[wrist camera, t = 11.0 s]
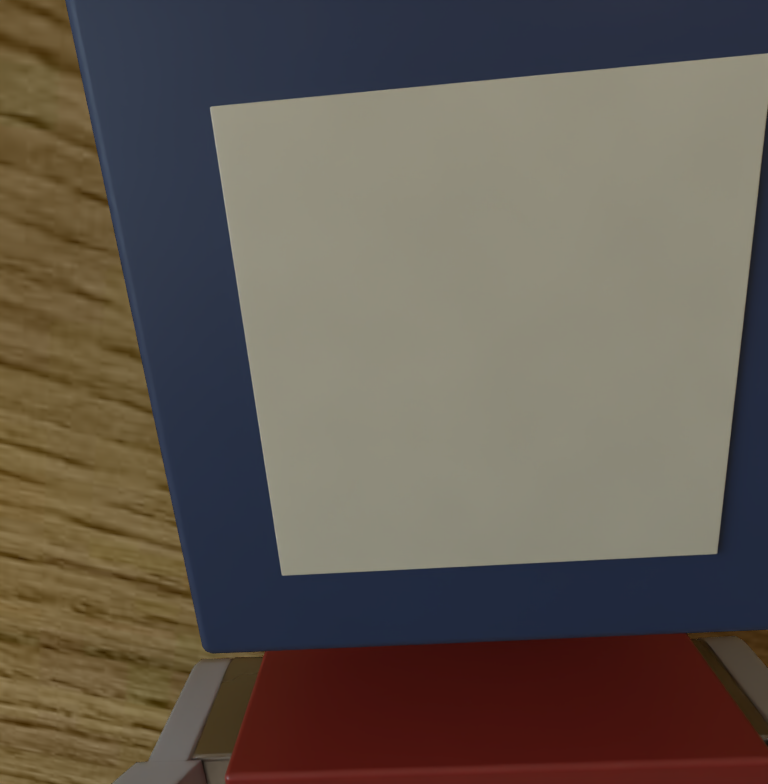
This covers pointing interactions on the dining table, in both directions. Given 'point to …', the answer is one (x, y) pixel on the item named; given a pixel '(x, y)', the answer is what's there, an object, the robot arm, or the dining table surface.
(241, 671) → the robot arm
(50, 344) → the dining table surface
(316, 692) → the red letter block
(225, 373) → the navy letter block
